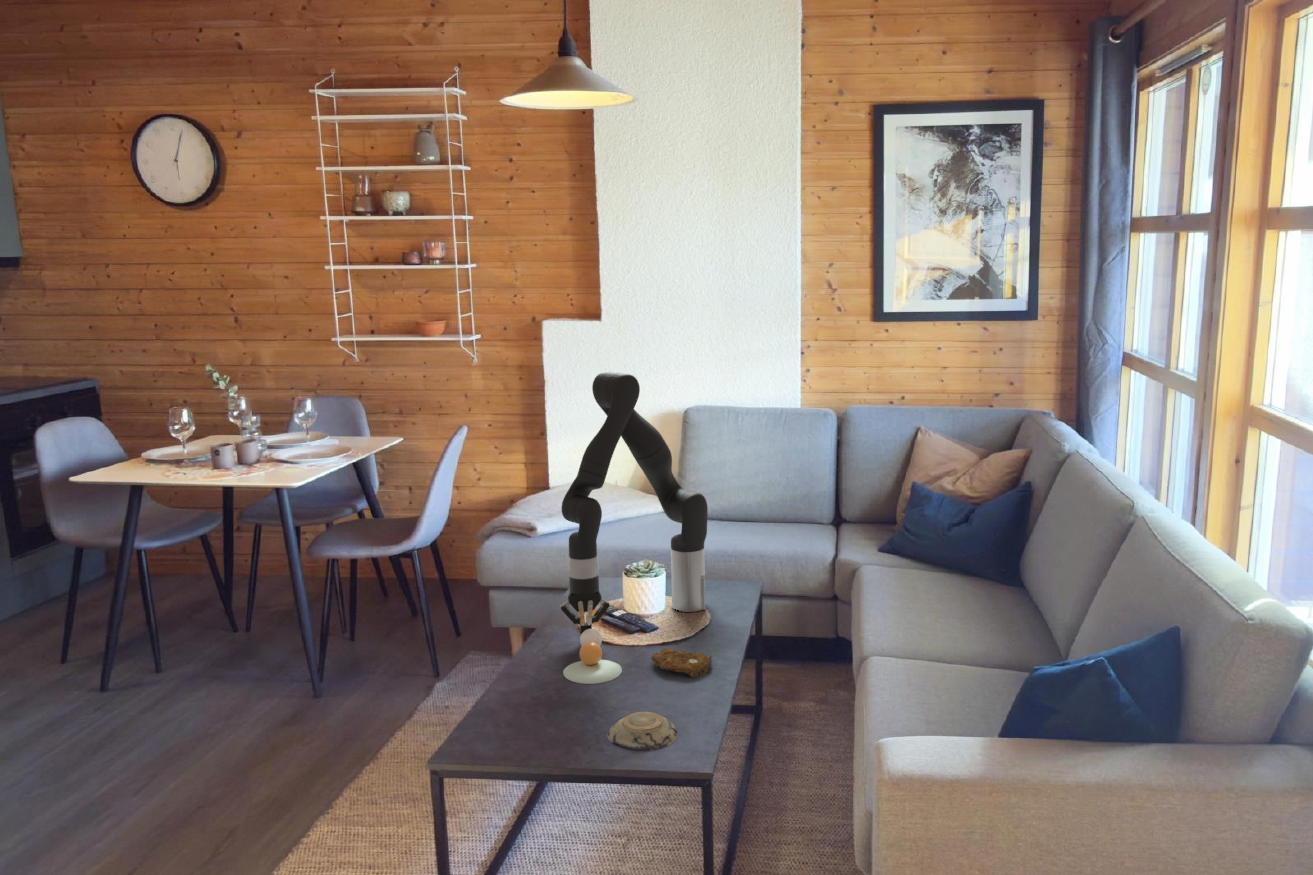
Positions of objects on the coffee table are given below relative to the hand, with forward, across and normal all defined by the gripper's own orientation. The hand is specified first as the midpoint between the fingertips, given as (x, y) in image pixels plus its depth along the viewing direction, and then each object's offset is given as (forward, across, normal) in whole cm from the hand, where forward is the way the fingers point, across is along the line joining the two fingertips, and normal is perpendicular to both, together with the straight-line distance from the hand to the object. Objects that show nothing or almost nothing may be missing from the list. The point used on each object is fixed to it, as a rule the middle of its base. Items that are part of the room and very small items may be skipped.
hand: (586, 637), depth 269 cm
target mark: (+2, 0, +18) cm, 18 cm away
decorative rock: (+2, -21, +20) cm, 29 cm away
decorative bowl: (+2, -7, +52) cm, 53 cm away
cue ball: (-1, -1, +5) cm, 5 cm away
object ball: (-1, 0, +14) cm, 14 cm away
